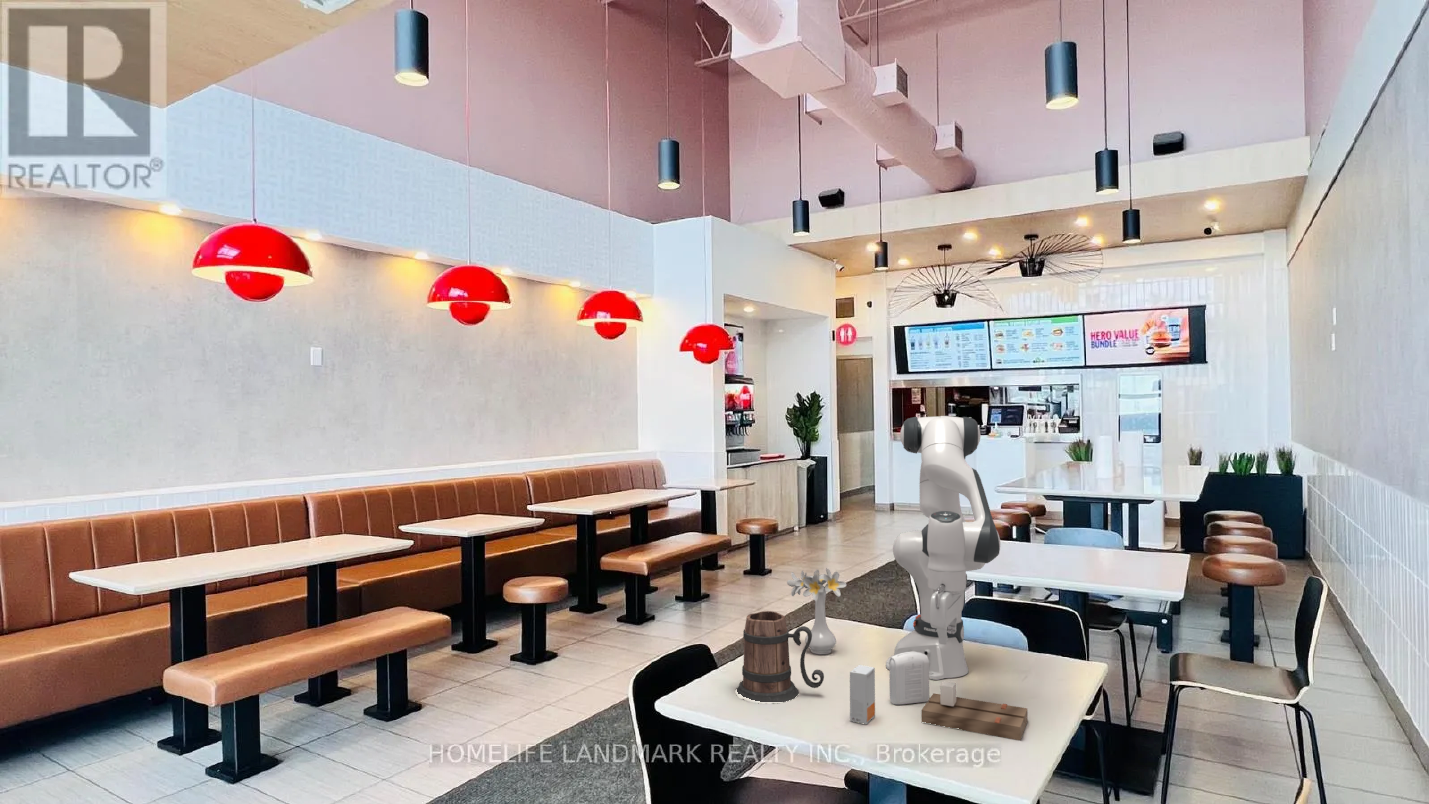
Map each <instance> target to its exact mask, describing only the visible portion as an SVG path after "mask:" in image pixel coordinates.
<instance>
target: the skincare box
mask: <svg viewBox="0 0 1429 804" xmlns="http://www.w3.org/2000/svg"><path fill="white" fill-rule="evenodd" d="M875 671H876V669H875V667H873V666H868V665H864V664H863V665H862V664H858V665H857V666H856V667H854V668H853V669H852V670H850V671H849V719H850V720H849V722H851V721H853V722H852V723H855V722H859V723H858V724H860V723H864V724H866V725H868V723H870V721H872V720H873V719H874V718H875V717H876V677H875V676H876V675H875V673H876V672H875ZM871 719H872V720H871ZM864 724H863V725H864Z"/></svg>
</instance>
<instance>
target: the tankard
mask: <svg viewBox="0 0 1429 804" xmlns="http://www.w3.org/2000/svg"><path fill="white" fill-rule="evenodd" d="M785 616H786V615H784V614H781V613H780V612H776V611H773V610H772V611H771V610H770V611H769V610H764V611H762V610H761V611H759V612H753V613H749V614H748V615H747V616H746V619H745V625H744V629H743V634H742V636H743V665H742V667H741V668H742V669H741V674H742V675H741V676H742V680H741V681H740V683H739V685H738V686H737V687H736V689H737V692H738V694H741V695H742V696H743V697H746V698H749V699H751V700H755V701H760V702H783V703H787V702H790V701H792V699H793V700H795V699H796V698H797V697H798V696H799V695H798V694H800V691H799V689H798V688H797V687H796V685H795V683H794V682H793V680H791V679H792V678H791V676H792V666H791V665H790V662H791V661H790V650H789V649H790V648H789V647H790V644H789V639H790V638H792V640H793V641H794V644H796V645H797V646H798V647H800V646H801V645H802V642H801V640H800V639H801V632H805V633H806V636H807V635H808V641H807V643H806V642H805V646H804V647H803V649H802V652H801V654H800V660H799V663H800V664H799V667H800V673H801V676H802V679H803V680H804V683H805V684H806V685H807V686H808V687H810V688H813V689H818V688H819V687H820V686H822V684H823V682H824V679H825V674H824V671H822V670H821V669H815V670H813V672H812V673H811V679H812V680H813V681H812V680H811V679H810V677H809V676H808V674H807V671H806V666H805V665H806V664H805V658H806V653H807V650H808V648H809V645H810V643H811V640H812V632H811V630H812V629H810V627H807V626H805V625H802V626H799V627H797V628H796V629H795V630H794V632H793V633H790V632H789V629H788V627H787V621H786V617H785ZM816 675H817V676H819V678H820V679H819V680H818V677H816ZM814 681H817V682H814ZM797 695H798V696H797ZM796 696H797V697H796ZM795 697H796V698H795ZM789 700H790V701H789ZM786 701H787V702H786Z"/></svg>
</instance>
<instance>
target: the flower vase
mask: <svg viewBox="0 0 1429 804" xmlns="http://www.w3.org/2000/svg"><path fill="white" fill-rule="evenodd" d="M790 574H791V575H790V576H791V578H792V579H793V580H792V579H788V580H787V581H786V584H787V585H788V586H789V587H792V589H791V593H790V595H791V597H795V595H796V594H797V595H801V594H802V593H801V590H802V589H804V588H805V589H804V591H803V594H802V596H803V597H809V596H811V595H812V599H813V600H814V621H813V625H812V628H811V629H810V630H811V632H812V640H811V643H810V645H809V647H808V648H809V649H810V652H811V653H812V654H813V655H822V656H823V655H829V654H831V652H832V649H833V648H835V646H836V644H837V639H836V636H835V634H834V633H833V632H832V631H831V630H830V628H829V626H828V624H827V617H826V596H827V593H829V592H831V591H833V593H834V594H835V595H836V597H838V598H839V597H841V595H842V594H841V590H840V589H843V588H846V587H847V583H846V582H845V581H842V580H839V578H840V573H839V572H838V571H837V570H836V571H835V572H833V573H832V572H831V570H830V569H829V568H828V567H826V569H825V573H823V574H820V569H818V568H817V569H815V570H814V572H813V575H807V572H804V570H801V572H800V578H799V577H797V576H796V575H795V573H794V572H792V571H791V572H790ZM824 585H825V586H824ZM807 641H808V635H807V634H806V636H805V640H804V642H805V644H806V643H807Z"/></svg>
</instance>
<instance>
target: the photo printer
mask: <svg viewBox="0 0 1429 804" xmlns="http://www.w3.org/2000/svg"><path fill="white" fill-rule="evenodd" d="M890 657H891V656H890ZM888 670H889V701H890V703H891V704H893V705H906V704H907V705H908V704H915V703H925V702H926V703H927V702H928V700H929V699H930V679H929V660H928V657H927V655H925V654H922V653H919V652H905V653H900V654H897V655H895V656H893V657H891V658H890V662H889V669H888Z"/></svg>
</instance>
